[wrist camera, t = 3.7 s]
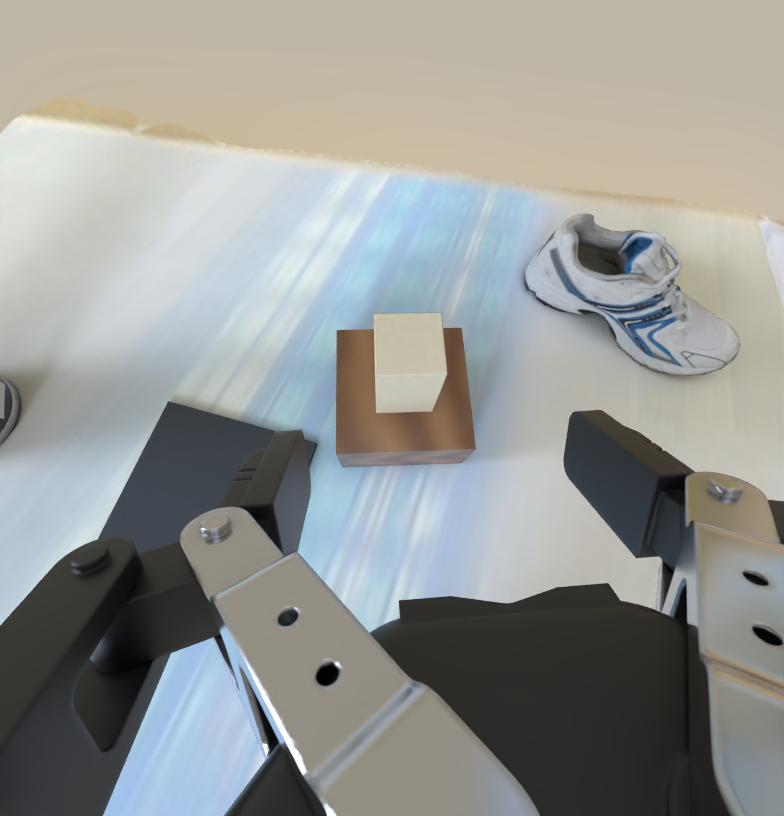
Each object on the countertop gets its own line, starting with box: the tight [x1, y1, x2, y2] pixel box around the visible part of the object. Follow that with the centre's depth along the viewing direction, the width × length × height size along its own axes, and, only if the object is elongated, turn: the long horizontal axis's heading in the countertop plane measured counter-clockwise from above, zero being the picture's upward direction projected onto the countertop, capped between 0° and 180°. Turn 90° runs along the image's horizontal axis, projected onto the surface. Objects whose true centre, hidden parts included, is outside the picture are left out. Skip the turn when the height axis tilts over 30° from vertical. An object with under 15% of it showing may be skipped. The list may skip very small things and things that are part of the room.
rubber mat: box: [98, 401, 317, 553], centre depth 37 cm, size 16×14×1 cm
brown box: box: [336, 328, 476, 467], centre depth 38 cm, size 12×12×6 cm
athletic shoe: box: [525, 214, 740, 375], centre depth 41 cm, size 10×23×12 cm, turn 63°
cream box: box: [374, 313, 447, 413], centre depth 31 cm, size 5×5×8 cm
